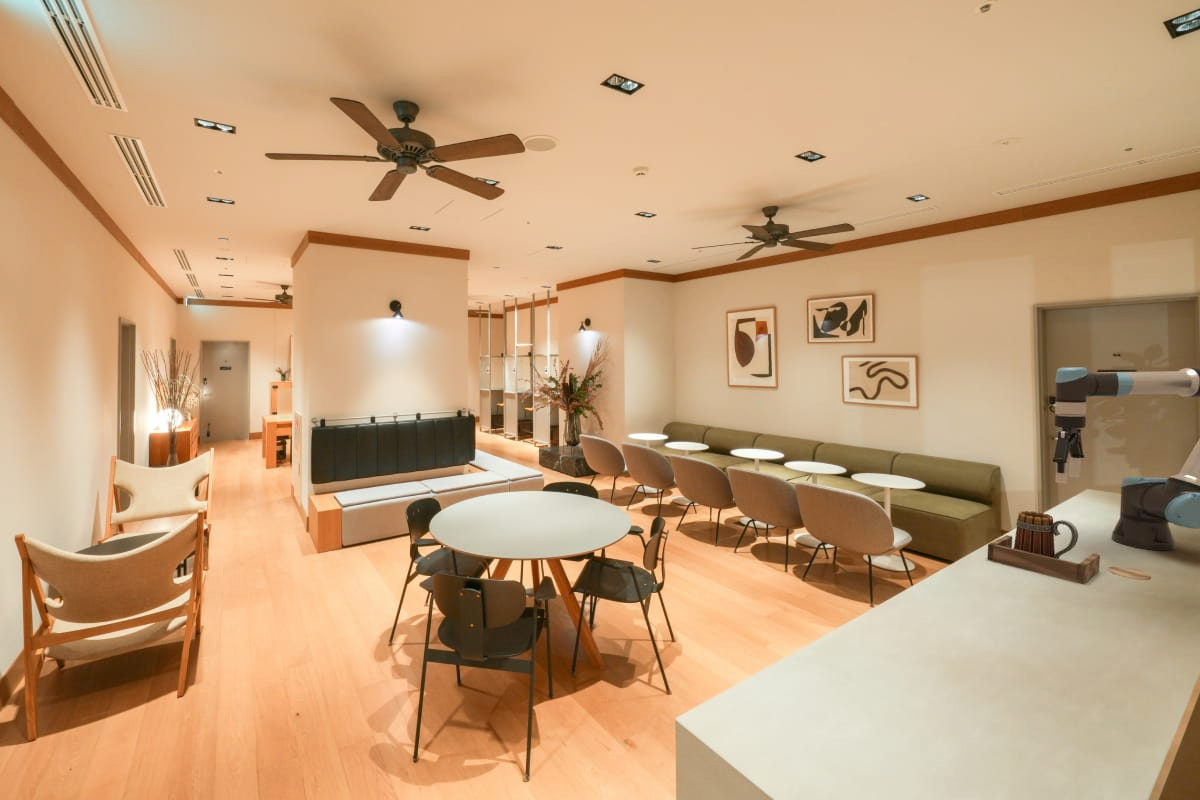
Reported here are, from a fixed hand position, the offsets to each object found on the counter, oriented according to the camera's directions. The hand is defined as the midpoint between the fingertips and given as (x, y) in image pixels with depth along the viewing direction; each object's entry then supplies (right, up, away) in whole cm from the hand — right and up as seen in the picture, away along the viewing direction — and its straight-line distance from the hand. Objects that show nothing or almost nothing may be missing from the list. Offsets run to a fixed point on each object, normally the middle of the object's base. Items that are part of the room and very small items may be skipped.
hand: (1068, 480), depth 173 cm
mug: (-16, -25, -9) cm, 31 cm away
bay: (-17, -25, -10) cm, 31 cm away
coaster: (+3, -25, -17) cm, 31 cm away
